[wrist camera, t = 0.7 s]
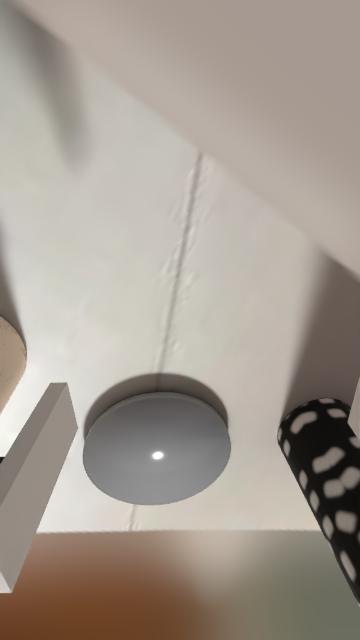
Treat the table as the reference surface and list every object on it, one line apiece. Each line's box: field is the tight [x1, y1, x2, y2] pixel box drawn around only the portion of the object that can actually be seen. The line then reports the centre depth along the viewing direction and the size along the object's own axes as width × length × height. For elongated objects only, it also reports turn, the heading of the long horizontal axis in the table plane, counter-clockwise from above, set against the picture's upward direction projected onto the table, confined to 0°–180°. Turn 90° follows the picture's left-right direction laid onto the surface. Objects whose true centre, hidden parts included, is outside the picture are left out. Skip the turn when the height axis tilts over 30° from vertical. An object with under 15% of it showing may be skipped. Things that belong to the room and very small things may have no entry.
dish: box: [83, 392, 231, 505], centre depth 30 cm, size 14×14×2 cm
